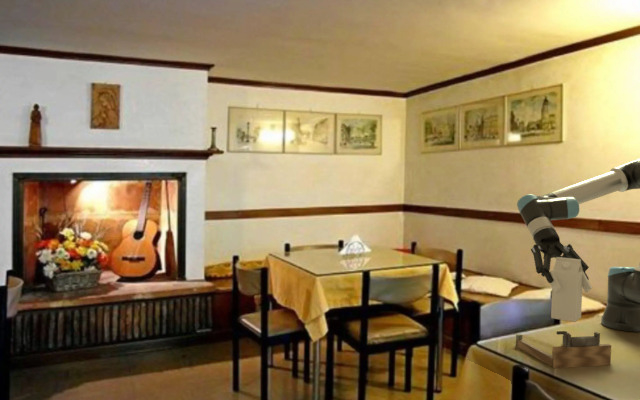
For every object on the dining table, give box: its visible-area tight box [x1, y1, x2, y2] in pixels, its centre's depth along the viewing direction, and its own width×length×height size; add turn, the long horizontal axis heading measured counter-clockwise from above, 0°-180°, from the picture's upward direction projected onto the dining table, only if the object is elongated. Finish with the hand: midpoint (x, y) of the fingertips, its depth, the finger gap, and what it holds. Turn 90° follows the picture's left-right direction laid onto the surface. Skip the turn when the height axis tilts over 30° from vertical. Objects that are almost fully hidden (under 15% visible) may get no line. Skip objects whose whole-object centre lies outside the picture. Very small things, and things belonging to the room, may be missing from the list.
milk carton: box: [550, 257, 583, 323], centre depth 160 cm, size 7×7×19 cm
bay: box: [515, 330, 612, 369], centre depth 162 cm, size 19×21×11 cm
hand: (573, 290), depth 157 cm, fingers closed on milk carton, 10 cm apart
